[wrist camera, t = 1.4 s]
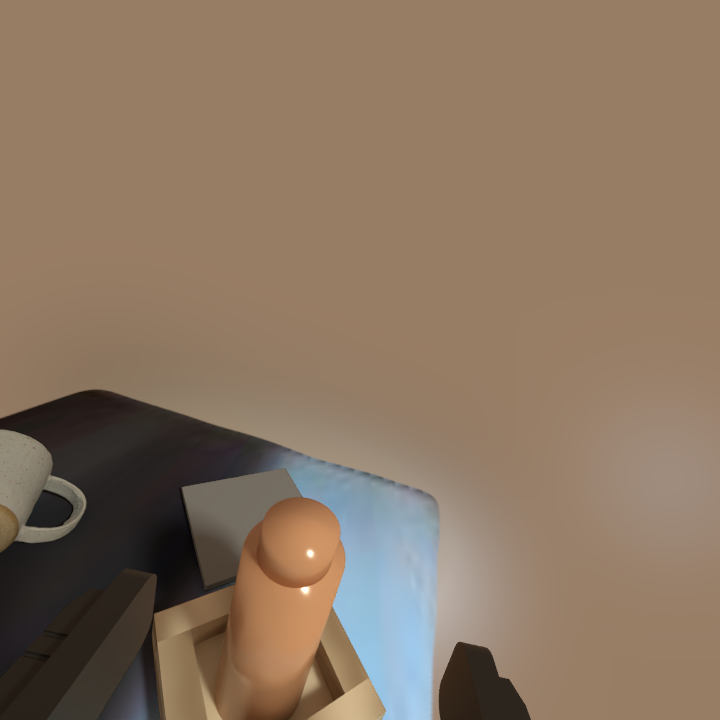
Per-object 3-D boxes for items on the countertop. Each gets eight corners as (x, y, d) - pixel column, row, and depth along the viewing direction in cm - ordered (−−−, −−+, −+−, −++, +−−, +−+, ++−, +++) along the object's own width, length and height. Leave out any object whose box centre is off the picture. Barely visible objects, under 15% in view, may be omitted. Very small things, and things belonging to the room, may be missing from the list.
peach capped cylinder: (289, 750, 21) (346, 590, 17) (196, 721, 21) (227, 554, 17) (315, 630, 28) (360, 492, 24) (244, 608, 28) (275, 467, 24)
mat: (205, 591, 29) (205, 586, 29) (181, 491, 38) (181, 487, 38) (328, 547, 36) (329, 542, 36) (284, 471, 45) (285, 468, 45)
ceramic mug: (-124, 591, 24) (-145, 502, 21) (-62, 502, 30) (-72, 426, 28) (75, 557, 29) (76, 484, 27) (92, 488, 36) (94, 424, 33)
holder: (177, 891, 16) (182, 868, 16) (151, 637, 25) (154, 613, 24) (375, 732, 24) (386, 710, 23) (301, 577, 32) (307, 558, 32)
